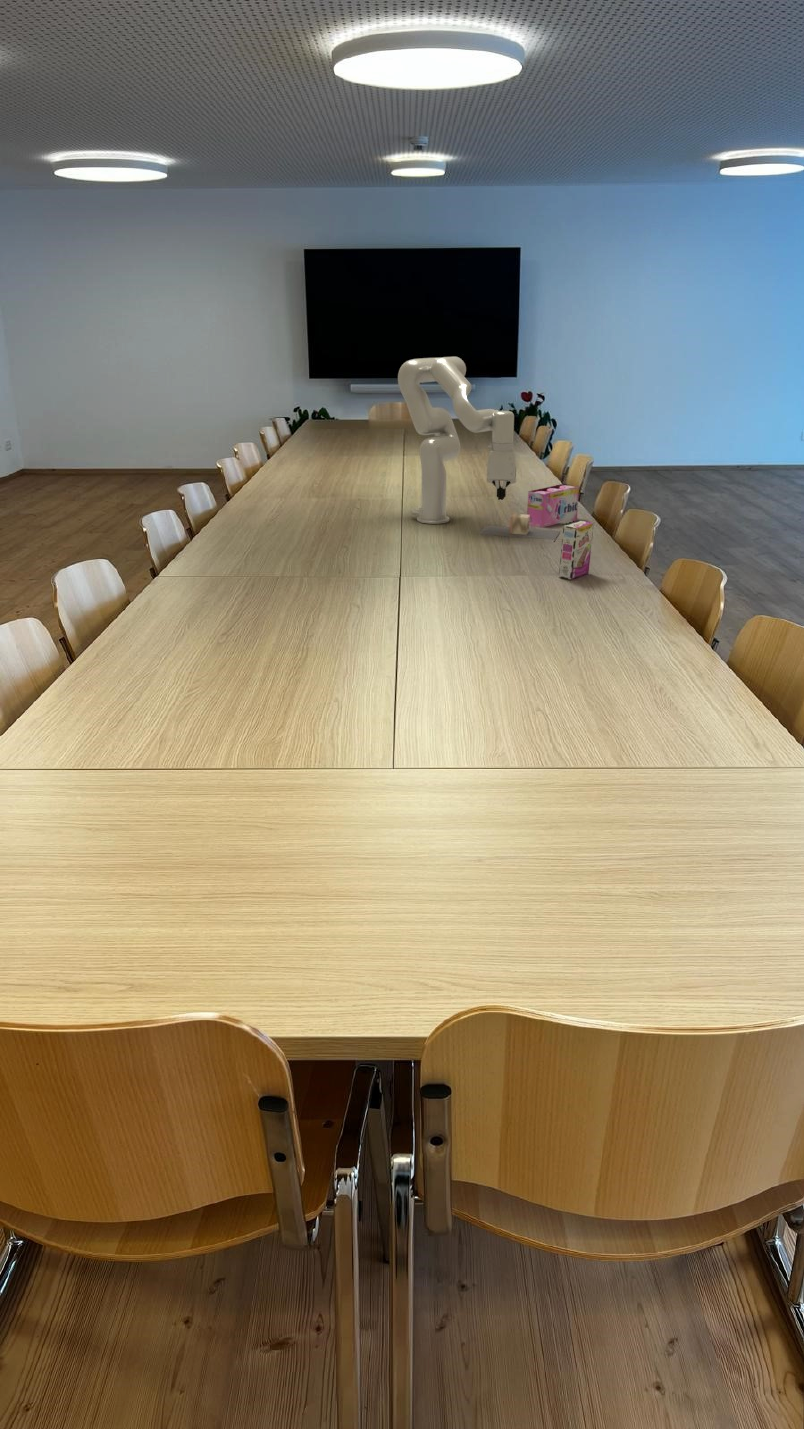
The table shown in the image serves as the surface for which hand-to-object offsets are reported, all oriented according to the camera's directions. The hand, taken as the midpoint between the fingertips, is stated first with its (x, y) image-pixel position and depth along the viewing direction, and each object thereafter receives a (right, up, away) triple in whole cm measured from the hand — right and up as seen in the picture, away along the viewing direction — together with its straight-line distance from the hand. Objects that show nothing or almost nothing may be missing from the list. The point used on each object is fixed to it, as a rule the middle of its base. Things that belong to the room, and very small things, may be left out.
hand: (501, 499), depth 354 cm
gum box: (+22, -5, +21) cm, 31 cm away
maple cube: (+4, -8, +3) cm, 10 cm away
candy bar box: (+18, -35, -46) cm, 61 cm away
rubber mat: (+7, -12, +4) cm, 15 cm away
